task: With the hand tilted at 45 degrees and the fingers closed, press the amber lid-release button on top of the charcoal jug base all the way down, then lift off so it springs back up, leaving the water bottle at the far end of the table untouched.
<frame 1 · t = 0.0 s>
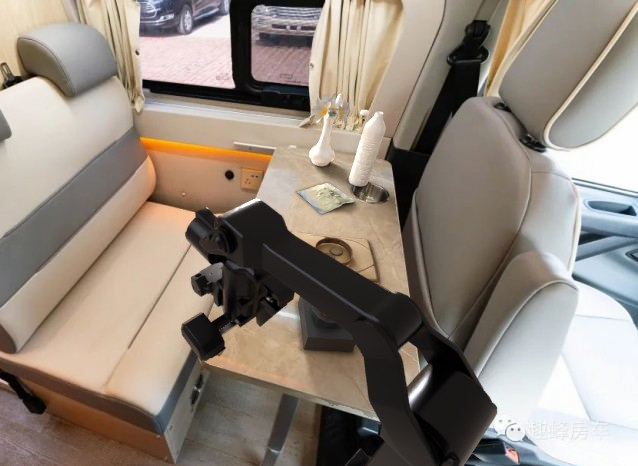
hand: (239, 338, 57), 13 cm above the table, tool pointing down, fingers open, 9 cm apart
topographic map: (324, 198, 110), on the table
board: (326, 255, 90), on the table
jug base: (323, 326, 73), on the table
flower vase: (319, 162, 128), on the table
water bottle: (354, 181, 117), on the table
lid button: (330, 305, 68), point 8 cm above the table, slide at 0.1 cm
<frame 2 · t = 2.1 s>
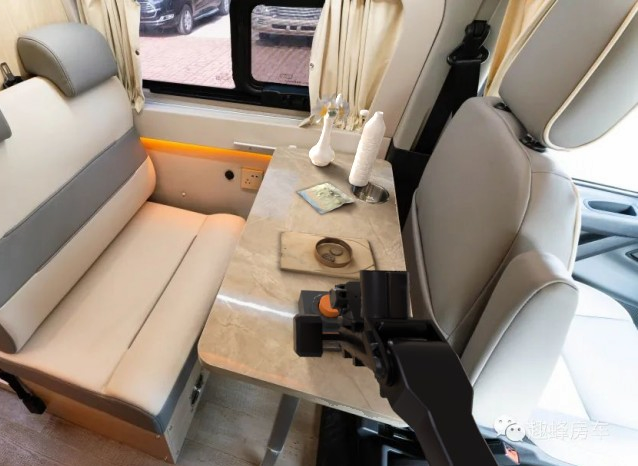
hand: (337, 326, 59), 12 cm above the table, tool tilted 40°, fingers open, 9 cm apart
nothing on the table moved.
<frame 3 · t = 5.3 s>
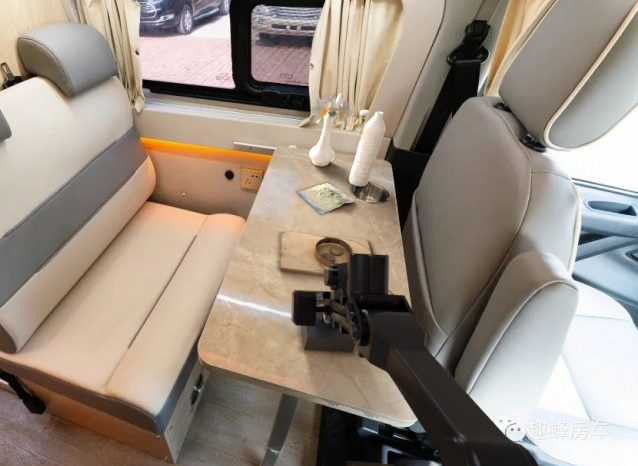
hand: (331, 302, 67), 9 cm above the table, tool tilted 45°, fingers closed, pressing on lid button
lid button: (330, 306, 68), point 8 cm above the table, slide at 0.0 cm, touching gripper
everything else where it was.
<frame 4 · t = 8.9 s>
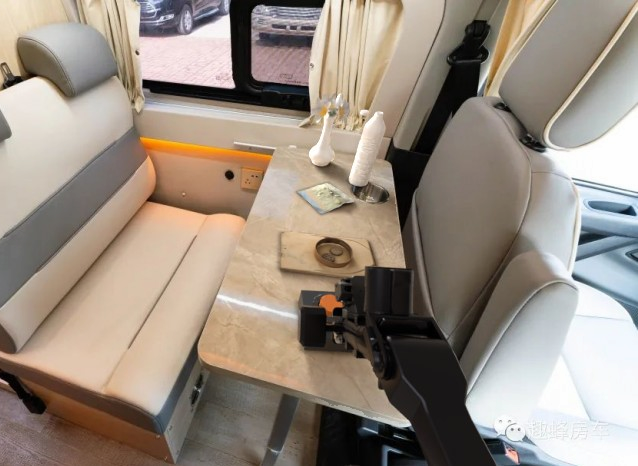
hand: (341, 318, 60), 12 cm above the table, tool tilted 45°, fingers closed
lid button: (330, 305, 68), point 8 cm above the table, slide at 0.1 cm
everything else where it was.
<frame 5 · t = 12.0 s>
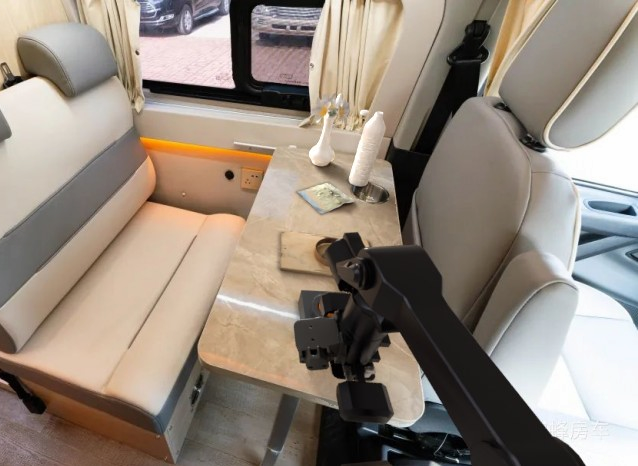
hand: (338, 375, 53), 12 cm above the table, tool pointing down, fingers closed
nothing on the table moved.
at the end: lid button pushed in 1.5 cm at the most during the clip, back to where it started at the end; lid button slide at 0.1 cm; water bottle moved 0.2 cm from its start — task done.
